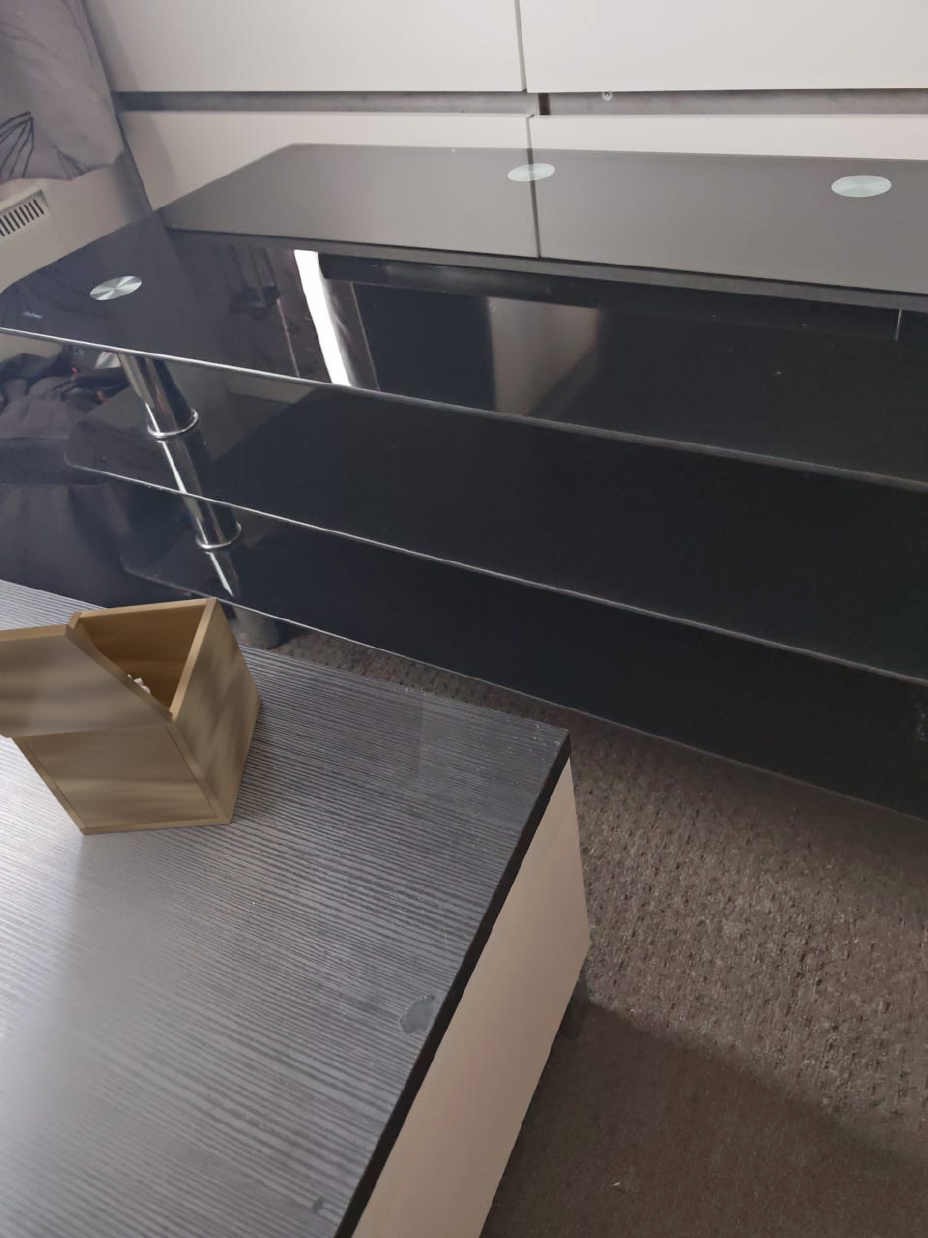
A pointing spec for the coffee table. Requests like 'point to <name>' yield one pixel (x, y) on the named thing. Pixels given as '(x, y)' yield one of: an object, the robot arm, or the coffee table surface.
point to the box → (158, 754)
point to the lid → (66, 686)
